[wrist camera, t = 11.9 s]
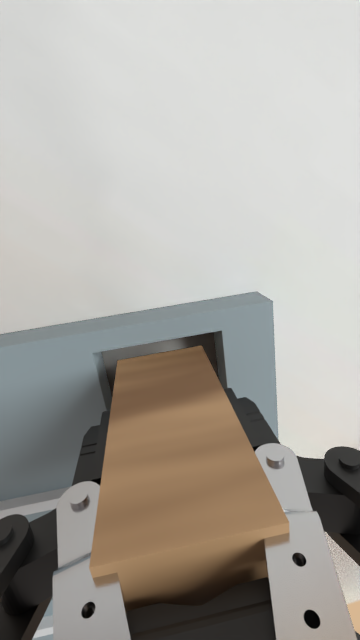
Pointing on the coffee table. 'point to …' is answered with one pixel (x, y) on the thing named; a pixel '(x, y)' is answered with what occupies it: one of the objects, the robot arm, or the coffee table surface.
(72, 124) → the coffee table surface
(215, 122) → the coffee table surface
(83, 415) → the puzzle board
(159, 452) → the walnut post
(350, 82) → the coffee table surface
